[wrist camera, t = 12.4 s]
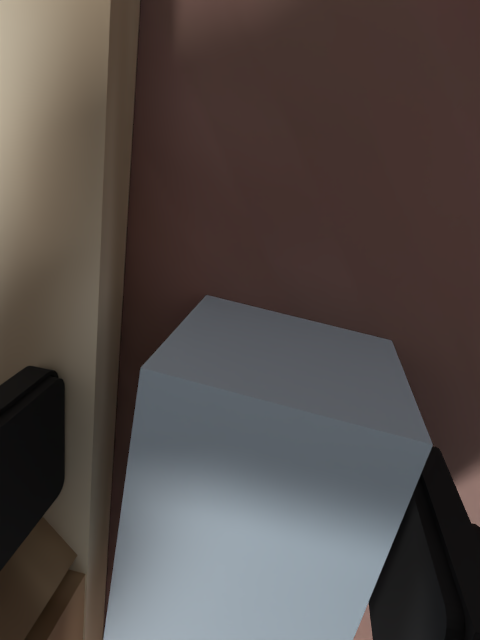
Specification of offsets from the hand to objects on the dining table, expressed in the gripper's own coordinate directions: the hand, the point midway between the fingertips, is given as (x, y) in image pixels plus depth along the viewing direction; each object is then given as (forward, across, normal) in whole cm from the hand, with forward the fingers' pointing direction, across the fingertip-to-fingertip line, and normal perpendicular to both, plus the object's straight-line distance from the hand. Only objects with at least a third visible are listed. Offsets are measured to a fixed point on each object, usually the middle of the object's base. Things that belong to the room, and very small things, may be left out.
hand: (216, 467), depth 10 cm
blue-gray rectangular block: (+1, -1, +1) cm, 2 cm away
